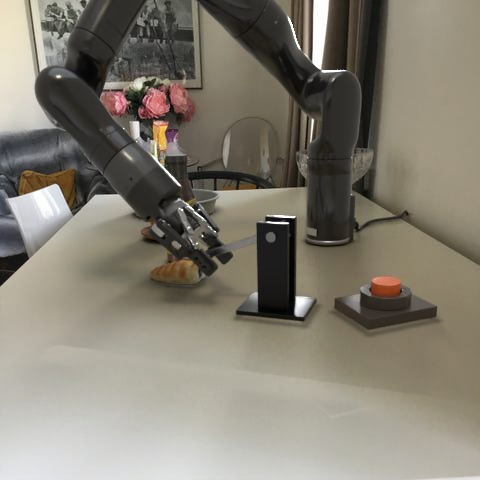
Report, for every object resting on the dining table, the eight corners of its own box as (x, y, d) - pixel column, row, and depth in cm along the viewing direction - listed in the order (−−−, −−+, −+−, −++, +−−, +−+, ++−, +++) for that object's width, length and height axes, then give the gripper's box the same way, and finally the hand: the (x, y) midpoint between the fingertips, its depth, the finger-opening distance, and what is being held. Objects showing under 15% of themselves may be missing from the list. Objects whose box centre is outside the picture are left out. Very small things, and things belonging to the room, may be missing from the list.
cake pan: (218, 220, 142) (217, 202, 140) (121, 223, 143) (119, 205, 141) (222, 202, 165) (221, 186, 163) (138, 204, 165) (137, 189, 164)
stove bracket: (236, 318, 82) (232, 224, 76) (253, 300, 88) (251, 212, 83) (303, 326, 78) (305, 227, 73) (316, 306, 85) (318, 215, 80)
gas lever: (201, 267, 82) (195, 252, 81) (215, 257, 87) (209, 242, 86) (283, 242, 76) (277, 225, 76) (293, 232, 81) (288, 217, 80)
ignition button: (389, 286, 82) (389, 275, 81) (406, 295, 78) (407, 283, 78) (365, 290, 80) (365, 278, 80) (381, 299, 77) (382, 287, 76)
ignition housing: (397, 300, 86) (399, 275, 85) (436, 321, 79) (439, 293, 77) (333, 312, 83) (334, 286, 81) (368, 334, 75) (370, 306, 73)
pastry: (145, 286, 96) (143, 264, 95) (158, 274, 102) (157, 254, 101) (198, 289, 94) (197, 266, 93) (209, 276, 100) (208, 255, 99)
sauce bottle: (193, 265, 107) (187, 156, 99) (162, 264, 108) (153, 156, 100) (202, 256, 113) (197, 152, 105) (172, 255, 114) (165, 152, 106)
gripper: (132, 171, 75) (219, 264, 76) (178, 158, 87) (253, 238, 88) (102, 209, 79) (186, 297, 79) (151, 191, 91) (223, 268, 92)
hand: (221, 266), depth 84 cm, fingers closed on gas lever, 5 cm apart
